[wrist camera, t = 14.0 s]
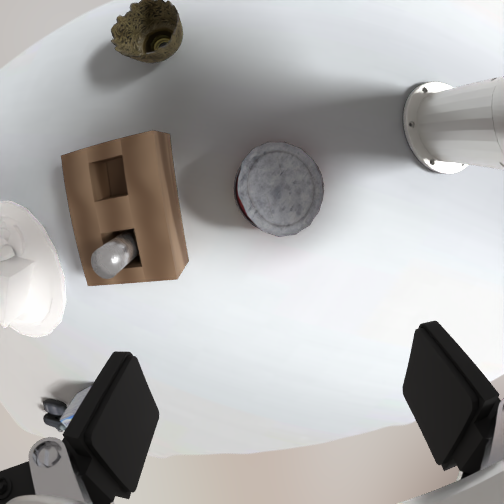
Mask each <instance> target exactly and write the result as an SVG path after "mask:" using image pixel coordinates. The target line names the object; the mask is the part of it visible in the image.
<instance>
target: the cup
mask: <svg viewBox="0 0 504 504" xmlns="http://www.w3.org/2000/svg"><path fill="white" fill-rule="evenodd" d="M130 7H131V8H130V11H129V12H127V13H126V15H125V16H121V15H120V16H118V17H117V23H116V24H114V26H113V27H112V29H111V33H112V36H113V38H114V39H112V40H111V42H112V43H113V44H114V45H116V47H115V50H116V51H118V52H120V53H121V54H123V55H125V56H127V57H130V58H133V59H135V60H138V61H141V62H146V63H156V62H160V61H163V60H165V59H167V58H169V57H170V56H172V55H173V54H174V53H175V52H176V51H177V50H178V48H179V46H180V44H181V42H182V38H183V29H182V24H181V21H180V18H179V13H178V12H177V10H176V8H175V6H174V5H172V3H171V2H170V1H167V2H164V1H163V0H141V1H140V2H139V3H132V4H131V5H130ZM164 42H168V43H166V45H165V46H164V47H159V45H160V44H162V43H164ZM158 47H159V48H158Z"/></svg>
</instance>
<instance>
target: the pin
mask: <svg viewBox="0 0 504 504" xmlns="http://www.w3.org/2000/svg"><path fill="white" fill-rule="evenodd" d="M138 254H139V249H138V245H137V240H136V235H135V230H134V228H133V229H128V230H126V231H125V232H123V233H121V234H120V235H118V236H117V237H115V238H114V239H112V240H110V241H109V242H107V243H106V244H104V245H103V246H101V247H100V248H98V249H97V250H95V251H94V252H93V254H92V256H91V265H92V268H93V270H94V272H95V273H96V274H97V275H98V276H100V277H101V278H104V279H110V278H113V277H114V276H115V275H116V274H117V273H118V272H120V271H121V270H122V269H123V268H124V267H125V266H126V265H127V264H128V263H129V262H130V261H132V260H133V259H134V258H135V257H136V256H137V255H138Z"/></svg>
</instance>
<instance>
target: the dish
mask: <svg viewBox="0 0 504 504" xmlns="http://www.w3.org/2000/svg"><path fill="white" fill-rule="evenodd" d="M65 306H66V290H65V277H64V274H63V270H62V267H61V264H60V261H59V257H58V254H57V250H56V249H55V247H54V245H53V243H52V241H51V240H50V238H49V236H48V234H47V232H46V230H45V228H44V226H43V225H42V224H41V223H40V222H39V221H38V220H37V219H36V218H35V217H34V216H33V215H32V213H31V212H30V211H29V210H28V209H27V208H25V207H23V206H21V205H19V204H17V203H15V202H13V201H11V200H10V201H0V323H1V325H2V326H3V327H4V328H6V327H7V326H10V327H11V328H13V329H14V330H16V331H17V332H19V333H20V334H23V335H27V336H30V337H34V338H37V337H41V336H46V335H49V334H50V333H51V332H52V331H53V330H54V329H55V328H56V327H57V325H58V324H59V323H60V322H61V321H62V317H63V313H64V310H65Z"/></svg>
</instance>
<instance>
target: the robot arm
mask: <svg viewBox="0 0 504 504" xmlns="http://www.w3.org/2000/svg"><path fill="white" fill-rule="evenodd" d="M403 122H404V130H405V135H406V138H407V141H408V143H409V146H410V148H411V149H412V151H413V153H414V154H415V156H416V157H417V158H418V160H419V161H420V162H421V163H423V164H424V165H425V166H426V167H428V168H429V169H431V170H433V171H436V172H438V173H444V174H453V173H457V172H459V171H461V170H463V169H464V168H465V167H466V166H467V165H473V166H480V167H487V168H493V169H499V170H504V76H503V77H498V78H493V79H488V80H484V81H479V82H475V83H471V84H466V85H462V86H458V87H454V88H453V87H451V86H449V85H447V84H445V83H441V82H428V83H424V84H422V85H420V86H418V87H417V88H415V89H414V90H413V91H412V92H411V94H410V95H409V97H408V99H407V101H406V104H405V107H404V115H403ZM409 124H410V126H409ZM403 395H404V397H405V399H406V401H407V403H408V405H409V407H410V409H411V411H412V413H413V415H414V417H415V419H416V421H417V423H418V425H419V427H420V429H421V431H422V433H423V436H424V438H425V440H426V442H427V444H428V446H429V448H430V450H431V452H432V455H433V457H434V459H435V461H436V463H437V464H438V465H442V467H443V470H444V471H445V470H448V469H450V468H452V467H455V466H458V468H459V470H460V472H459V475H458V477H457V480H456V482H454V483H452V484H449V485H447V486H445V487H442V488H439V489H437V490H434V491H432V492H429V493H427V494H424V495H421V496H418V497H415V498H413V499H410V500H406V501H403V502H400V503H397V504H504V398H503V399H502V401H501V400H500V399H499V398H498V396H499V393H498V392H497V391H496V390H495V388H494V387H493V386H492V385H491V383H490V382H489V381H488V379H487V378H486V377H485V376H484V374H483V373H482V372H481V371H480V370H479V368H478V367H477V366H476V365H475V364H474V362H473V361H472V360H471V359H470V358H469V357H468V355H467V354H466V353H465V352H464V351H463V350H462V348H461V347H460V346H459V345H458V344H457V343H456V342H455V341H454V339H453V338H452V337H451V336H450V335H449V334H448V333H447V332H446V330H445V329H444V328H443V327H442V326H441V325H440V324H439V323H438V322H437V321H431V322H427V323H423V324H420V326H419V328H418V329H416V330H415V333H414V338H413V344H412V349H411V354H410V358H409V363H408V367H407V372H406V376H405V380H404V384H403ZM158 419H159V410H158V408H157V406H156V403H155V401H154V399H153V396H152V394H151V392H150V389H149V387H148V385H147V382H146V380H145V377H144V375H143V372H142V370H141V367H140V364H139V362H138V359H137V358H136V357H135V356H133V355H132V354H131V353H130V352H114V353H113V354H112V355H111V357H110V358H109V360H108V361H107V363H106V364H105V366H104V367H103V369H102V371H101V372H100V374H99V375H98V377H97V378H96V380H95V382H94V383H93V385H92V386H91V388H90V390H89V391H88V393H87V395H86V396H85V398H84V399H83V401H82V403H81V404H80V406H79V408H78V409H77V411H76V413H75V414H74V416H73V418H72V419H71V421H70V423H69V425H68V426H67V428H66V430H65V432H64V433H63V436H64V439H63V440H62V441H61V440H60V439H57V438H53V437H48V438H43V439H41V440H39V441H38V442H36V443H35V444H34V445H33V446H32V448H31V450H30V452H29V461H28V462H25V463H23V464H20V465H17V466H14V467H11V468H9V469H6V470H3V471H0V504H114V502H113V501H114V498H115V496H118V497H122V498H126V499H129V498H130V494H131V492H134V491H135V490H136V488H137V485H138V481H139V478H140V475H141V472H142V469H143V465H144V462H145V459H146V456H147V453H148V450H149V447H150V444H151V441H152V438H153V435H154V432H155V429H156V425H157V422H158Z"/></svg>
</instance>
